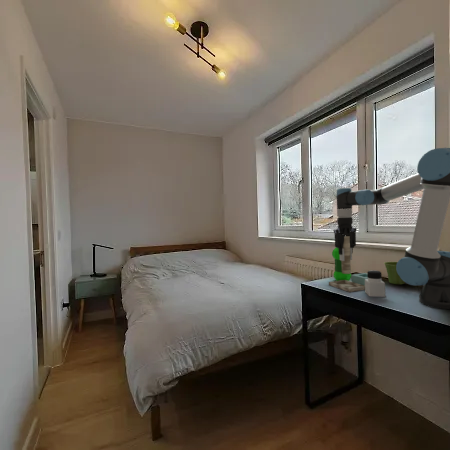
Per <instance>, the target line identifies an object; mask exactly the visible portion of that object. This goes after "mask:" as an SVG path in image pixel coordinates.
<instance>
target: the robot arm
mask: <svg viewBox="0 0 450 450" xmlns="http://www.w3.org/2000/svg"><path fill="white" fill-rule="evenodd" d="M416 172H417V173H416V174H412V175H410V176H408V177H406V178H403V179H400V180H398V181H395V182H392V183H390V184H388V185H386V186H383V187H380V188H378V189H359V190H352V188H351V187H343V188H337V190H336V215H337V218H336V219H337V220H336V221H337V223H336V224H337V225H338V226H337V228H335V229H333V234H334V247H335V248H336V247H337V248H338V249H339V254H340V260H341V261H344V249H343V243H344V237H345V236H350V261H352V260H353V252H354V251H353V250H354V248H355V247H356V246H357V235H356V233H357V229H358V228H356V227H353V226H352V224H353V217H352V216H353V206H368V205H369V206H370V205H371V206H372V205H373V206H374V205H386V204H388V203H389V202H390V201H393V200H396V199H399V198H401V197H405V196H407V195H410V194H414V193H417V192H420V191H422V195H421V199H420V205H419V210H418V213H417V218H416V222H415V227H414V232H413V236H412V242H411V245H410V246H409V247H407V248H405V251H404V256H403V257H401V258H400V259H399V260H398V261H396V262H397V265H396V270H397V273H398V275H399V276H400V278H401V279H402V280H403V281H404V282H405V284H408V285H410V286H422V288H421V289H420V293H419V296H418V302H419V303H420V304H423V305H424V306H427V307H432V308H437V309H443V310H450V251H445V250H438V249H439V248H438V247H439V243H440V241H441V235H442V231H443V227H444V224H445V219H446V216H447V211H448V207H449V203H450V147H437V148H433V149H431V150H428V151H427V152H425V153H424V154H423V155H422V156H421V157H420V158H419V161H418V163H417V165H416Z"/></svg>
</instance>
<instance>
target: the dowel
mask: <svg viewBox="0 0 450 450" xmlns="http://www.w3.org/2000/svg"><path fill="white" fill-rule="evenodd" d="M343 249H344V261H342V273H343V274H350V273H351V274H352V272H351V271H352V270H351V267H352V266H351V260H350V236H346V235H345V237H344V243H343Z"/></svg>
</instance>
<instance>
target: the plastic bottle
mask: <svg viewBox="0 0 450 450" xmlns="http://www.w3.org/2000/svg"><path fill="white" fill-rule="evenodd" d="M331 255H332V258H333V259H334V273H333V278H334V279H335V281H339V280H348V281H351V279H352V272H351V273H350V274H343V273H342V261H341V260H340V254H339V249H338V248H337V247H335V248H334V249H332V252H331Z"/></svg>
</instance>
